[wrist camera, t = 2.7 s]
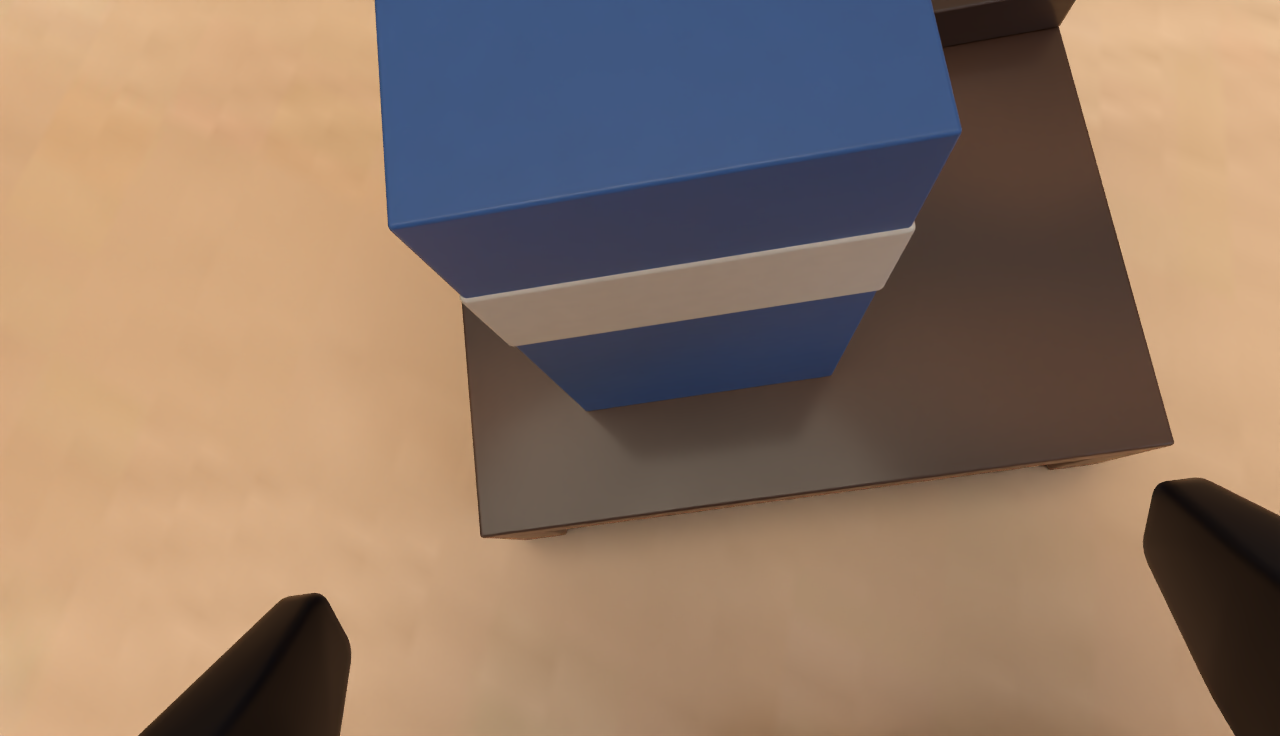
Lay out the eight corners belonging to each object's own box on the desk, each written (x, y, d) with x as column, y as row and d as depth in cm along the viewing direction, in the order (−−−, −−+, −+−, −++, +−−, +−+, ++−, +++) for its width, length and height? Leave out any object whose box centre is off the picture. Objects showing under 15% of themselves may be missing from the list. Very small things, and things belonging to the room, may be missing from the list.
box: (834, 377, 18) (971, 135, 8) (583, 414, 19) (380, 233, 8) (789, 131, 20) (850, -365, 9) (556, 170, 20) (353, -255, 10)
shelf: (1095, 463, 21) (1217, 434, 16) (524, 540, 22) (457, 537, 17) (998, 83, 24) (1075, -54, 18) (490, 171, 25) (422, 66, 19)
